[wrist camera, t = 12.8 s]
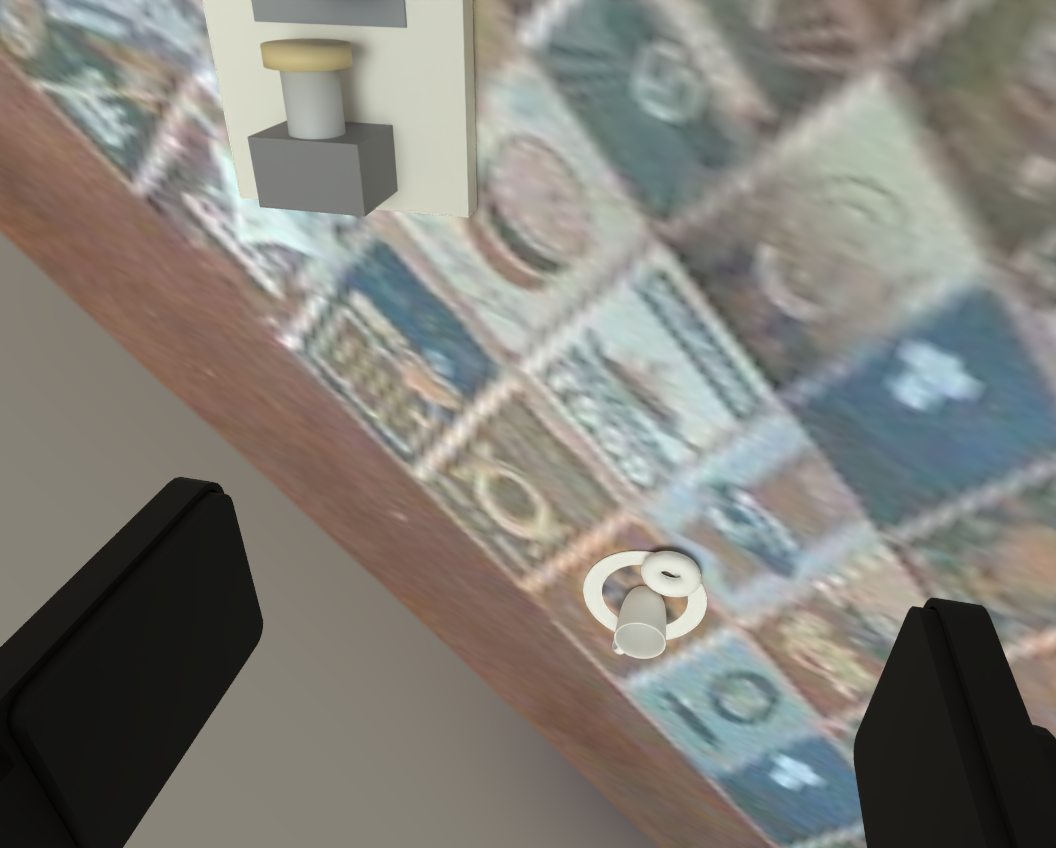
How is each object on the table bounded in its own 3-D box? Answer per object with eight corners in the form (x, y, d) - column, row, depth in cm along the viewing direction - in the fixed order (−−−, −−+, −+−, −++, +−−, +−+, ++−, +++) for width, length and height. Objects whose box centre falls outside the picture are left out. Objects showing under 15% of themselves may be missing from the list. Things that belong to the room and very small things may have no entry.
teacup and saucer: (678, 524, 45) (674, 571, 42) (741, 611, 48) (742, 662, 45) (561, 569, 50) (549, 615, 46) (625, 647, 52) (618, 695, 49)
